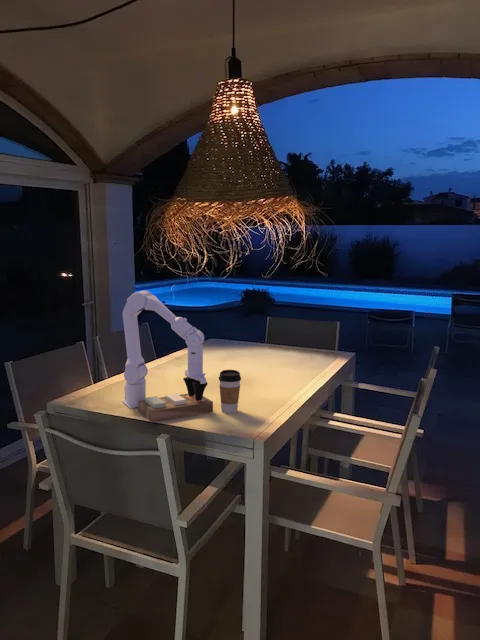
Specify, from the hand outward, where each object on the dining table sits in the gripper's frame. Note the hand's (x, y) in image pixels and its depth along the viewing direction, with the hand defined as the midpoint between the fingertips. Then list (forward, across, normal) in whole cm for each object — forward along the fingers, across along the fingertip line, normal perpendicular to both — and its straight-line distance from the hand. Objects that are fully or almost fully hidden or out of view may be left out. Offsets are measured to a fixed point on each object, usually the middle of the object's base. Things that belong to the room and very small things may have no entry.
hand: (195, 397), depth 202 cm
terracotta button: (+4, 0, 0) cm, 4 cm away
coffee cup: (+4, -9, -10) cm, 14 cm away
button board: (+4, 0, +8) cm, 9 cm away
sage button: (+3, 0, +16) cm, 16 cm away
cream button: (+3, 0, +8) cm, 8 cm away
